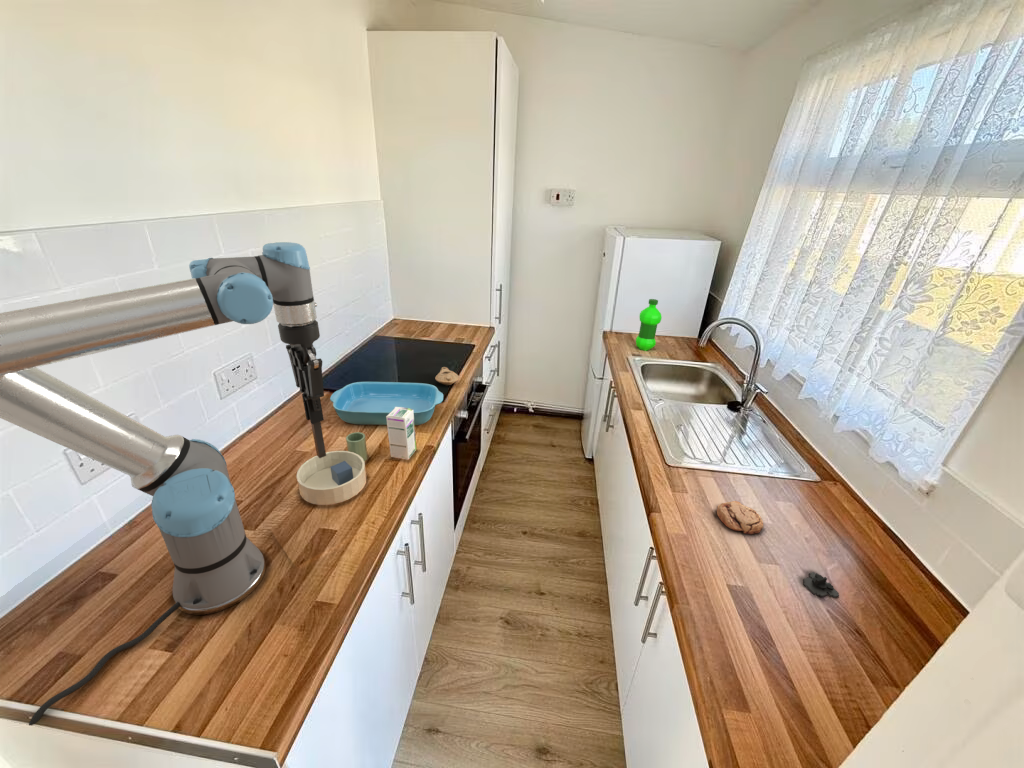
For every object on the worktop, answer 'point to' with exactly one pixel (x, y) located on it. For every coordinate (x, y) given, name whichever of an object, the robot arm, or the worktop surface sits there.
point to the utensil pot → (357, 444)
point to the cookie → (740, 517)
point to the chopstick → (318, 438)
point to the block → (341, 473)
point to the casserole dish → (384, 401)
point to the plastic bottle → (648, 326)
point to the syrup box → (401, 432)
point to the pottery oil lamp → (446, 376)
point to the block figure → (819, 586)
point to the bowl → (330, 478)
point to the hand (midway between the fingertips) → (315, 419)
